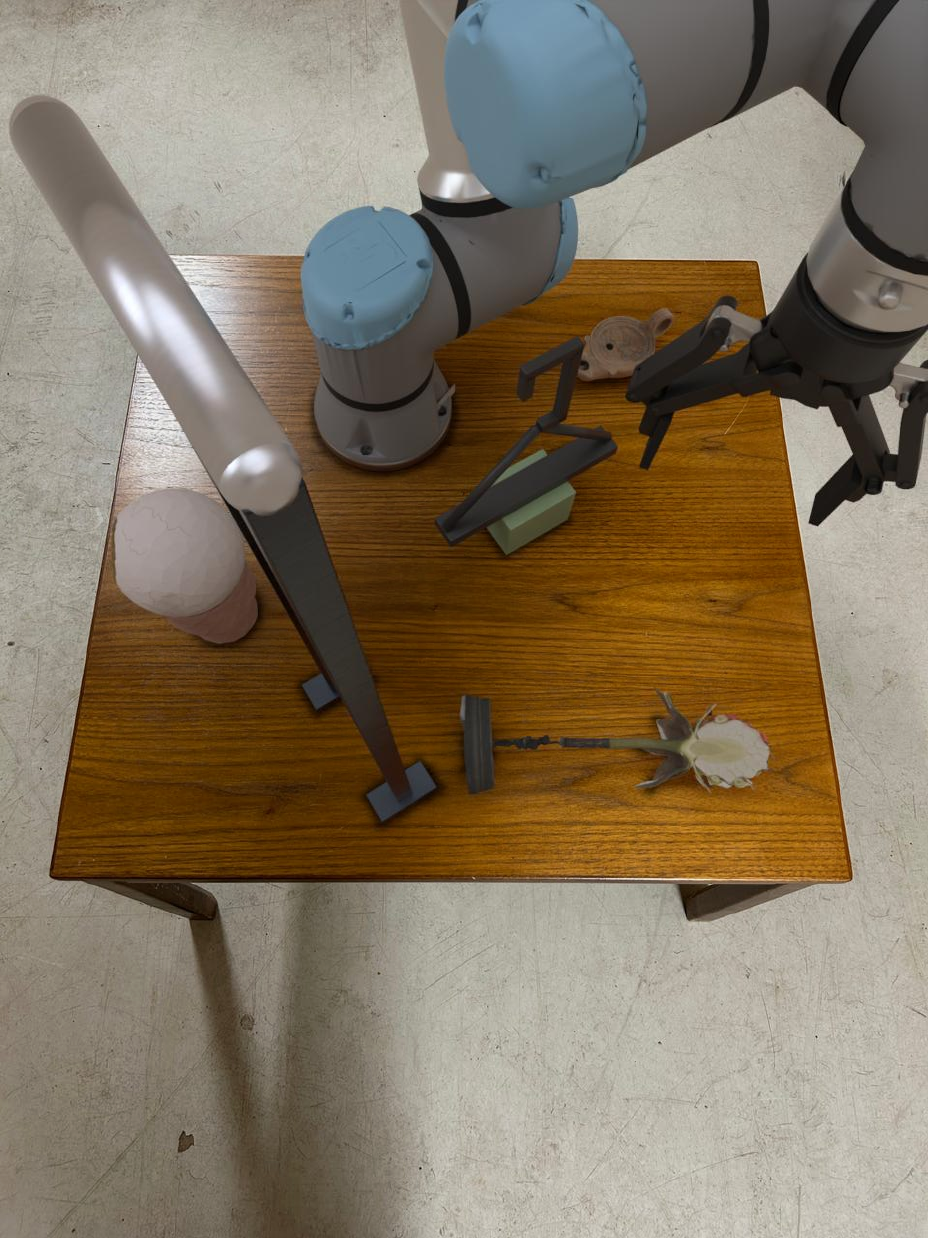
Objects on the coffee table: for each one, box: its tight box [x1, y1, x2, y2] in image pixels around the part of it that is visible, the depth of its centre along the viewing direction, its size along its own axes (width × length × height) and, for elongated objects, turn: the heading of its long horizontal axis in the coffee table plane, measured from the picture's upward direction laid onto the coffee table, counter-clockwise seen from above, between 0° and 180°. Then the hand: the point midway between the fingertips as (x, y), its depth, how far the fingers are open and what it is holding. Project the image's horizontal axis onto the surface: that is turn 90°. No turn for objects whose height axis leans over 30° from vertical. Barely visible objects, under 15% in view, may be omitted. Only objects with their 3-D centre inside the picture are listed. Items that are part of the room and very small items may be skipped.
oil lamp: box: [577, 307, 675, 382], centre depth 89 cm, size 13×8×5 cm, turn 118°
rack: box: [8, 94, 438, 824], centre depth 47 cm, size 16×6×60 cm, turn 33°
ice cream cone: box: [110, 488, 259, 645], centre depth 70 cm, size 11×11×20 cm
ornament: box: [459, 685, 775, 796], centre depth 71 cm, size 28×10×9 cm, turn 91°
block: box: [486, 448, 577, 556], centre depth 81 cm, size 6×8×6 cm
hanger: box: [434, 335, 619, 548], centre depth 69 cm, size 20×3×20 cm, turn 123°
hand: (731, 482), depth 61 cm, fingers open, 13 cm apart
